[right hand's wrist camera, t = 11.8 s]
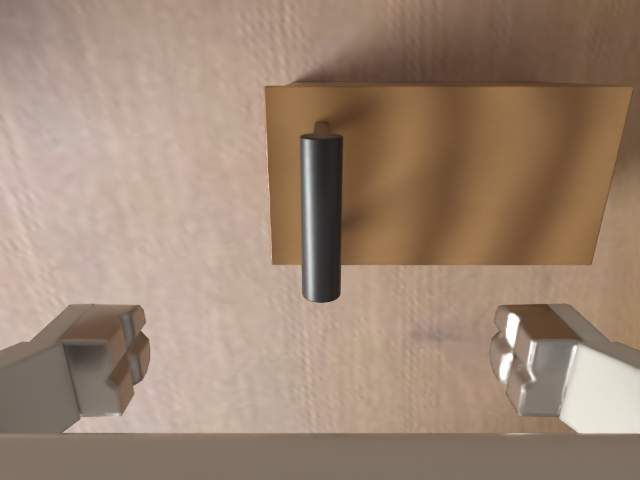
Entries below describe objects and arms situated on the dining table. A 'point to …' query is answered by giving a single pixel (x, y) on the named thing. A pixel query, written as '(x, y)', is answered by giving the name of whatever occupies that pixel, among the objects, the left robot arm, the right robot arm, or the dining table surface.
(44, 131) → the dining table surface
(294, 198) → the lid
